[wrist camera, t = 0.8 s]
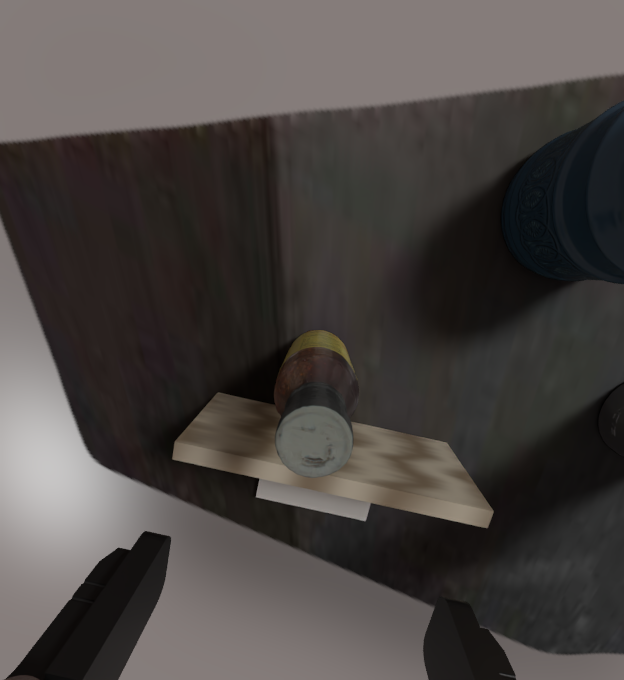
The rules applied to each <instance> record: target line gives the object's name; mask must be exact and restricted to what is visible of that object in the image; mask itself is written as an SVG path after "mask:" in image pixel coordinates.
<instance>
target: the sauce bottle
mask: <svg viewBox="0 0 624 680" xmlns="http://www.w3.org/2000/svg"><path fill="white" fill-rule="evenodd" d="M358 400H359V386H358V381H357V378H356V375H355V372H354V369H353V367H352V364H351V361H350V358H349V355H348V352H347V350H346V347H345V345H344V344H343V342H342V341H341V340H340V339H339V338H338V337H336V336H335V335H334V334H332V333H329V332H326V331H323V330H312V331H307V332H306V333H304V334H303V335H301V336H300V337H298V338H297V339H296V340H295V341H294V342H293V344H292V346H291V347H290V349H289V351H288V353H287V355H286V357H285V360H284V362H283V364H282V366H281V368H280V371H279V373H278V377H277V379H276V384H275V390H274V401H275V406H276V410H277V412H278V413H279V414H280V416H281V418H280V420H279V423H278V426H277V429H276V434H275V447H276V450H277V453H278V456H279V457H280V459H281V461H282V463H283V464H284V465H285V466H286V467H287V468H288V469H289V470H291V471H293V472H294V473H296V474H298V475H301V476H304V477H309V478H317V477H323V476H327V475H330V474H332V473H334V472H336V471H338V470H339V469H340V468H341V467H342V466H344V465H345V464H346V463H347V461H348V460H349V458H350V456H351V453H352V450H353V440H354V438H353V429H352V423H351V421H350V419H349V418H350V417H351V416H352V415H353V413H354V411H355V409H356V407H357V404H358Z"/></svg>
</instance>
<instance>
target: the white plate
mask: <svg viewBox="0 0 624 680" xmlns="http://www.w3.org/2000/svg"><path fill="white" fill-rule="evenodd" d="M256 497H257V498H262V499H267V500H271V501H276V502H280V503H285V504H289V505H294V506H299V507H303V508H308V509H312V510H317V511H321V512H326V513H331V514H335V515H340V516H344V517H349V518H353V519H358V520H363V521H366V518H367V515H368V511H369V508H370V504H371V503H369V502H365V501H360V500H356V499H351V498H346V497H342V496H337V495H333V494H328V493H324V492H319V491H315V490H310V489H305V488H301V487H296V486H292V485H287V484H283V483H278V482H273V481H269V480H264V479H259V484H258V489H257V493H256Z"/></svg>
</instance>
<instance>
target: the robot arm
mask: <svg viewBox="0 0 624 680" xmlns="http://www.w3.org/2000/svg"><path fill="white" fill-rule="evenodd" d="M598 426H599V432H600V434H601V437H602V439H603V441H604V442H605V443H606V444H607V446H608V447H610V448H611V449H612V450H614V451H615V452H617V453H618V454H620V455H621V456H623V457H624V384H622V385H621V386H619V387H618V388H617V389H616V390H614V391H613V392H612V393H611V394H610V396H609V397H608V398H607V399H606V401H605V402H604V404H603V406H602V408H601V411H600V414H599V422H598ZM170 544H171V537H170V536H166V535H161V534H157V533H152V532H147V531H145V532H143V533H142V535H141V536H140V538H139V539H138V540H137V542H136V543H135V544H134V546H133V547H132V549H131V550H127V549H122V548H117V549H116V550H115V551H113V552H112V553H111V554H109V555H108V556H106V557H105V558H104V559H102V560H101V561H99V563H98V564H97V565H96V566H95V568H94V569H93V571H92V572H91V573H90V574H89V575H88V577H87V578H86V579H85V582H84V583H83V584H81V586H80V587H79V588H78V590H77V591H76V592H75V593H74V595H73V597H72V599H71V600H69V601H68V603H67V604H66V605H65V606H64V608H63V609H62V610H61V612H60V613H59V614H58V615H57V617H56V618H55V619H54V621H53V622H52V623H51V624H50V626H49V627H48V628H47V630H46V631H45V632H44V633H43V635H42V636H41V637H40V639H39V640H38V641H37V642H36V644H35V645H34V646H33V648H32V649H31V650H30V651H29V653H28V654H27V655H26V657H25V658H24V659H23V661H22V662H21V663H20V664H19V665H18V667H17V668H16V669H15V670H14V671H13V672H12V673H11V674H10V675H9V676H8V677H7V678H6V679H5V680H118V679H119V677H120V675H121V673H122V671H123V669H124V667H125V665H126V663H127V661H128V659H129V657H130V655H131V653H132V651H133V649H134V647H135V645H136V643H137V641H138V639H139V637H140V635H141V634H142V632H143V630H144V627H145V626H146V624H147V622H148V620H149V618H150V616H151V614H152V612H153V610H154V608H155V606H156V604H157V602H158V600H159V597H160V594H161V592H162V589H163V585H164V582H165V577H166V570H167V564H168V557H169V550H170ZM423 652H424V662H425V666H426V671H427V675H428V679H429V680H516V678H515V673H514V671H513V669H512V667H511V665H510V663H509V660H508V658H507V656H506V654H505V652H504V650H503V649H502V647H501V646H500V645H499V643H498V642H497V641H496V640H495V638H494V637H493V636H492V634H491V633H490V632H489V630H488V629H484V628H480V626H479V624H478V621H477V619H476V617H475V614H474V612H473V610H472V608H471V606H470V605H469V603H467V602H464V601H459V600H455V599H450V598H445V597H440V598H439V599H438V601H437V603H436V606H435V609H434V611H433V614H432V617H431V620H430V623H429V625H428V628H427V631H426V634H425V638H424V646H423Z"/></svg>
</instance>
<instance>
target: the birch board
mask: <svg viewBox="0 0 624 680" xmlns="http://www.w3.org/2000/svg"><path fill="white" fill-rule="evenodd" d="M280 418H281V416H280V414H279V413H278V412H277V410H276V406H275V405H273V404H269V403H264V402H259V401H255V400H250V399H246V398H241V397H237V396H232V395H228V394H223V393H219V392H218V393H217V394H216V395H215V396H214V397H213V398H212V400H211V401H210V402H209V403H208V404H207V405H206V406H205V408H204V409H203V410H202V411H201V412H200V413H199V415H198V416H197V417H196V418H195V419H194V420H193V421H192V423H191V424H190V425H189V426H188V427H187V428H186V429H185V431H184V432H183V433H182V434H181V435H180V436H179V437H178V439H177V440H176V441H175V444H174V451H173V458H172V459H173V460H178V461H182V462H187V463H191V464H196V465H200V466H205V467H210V468H214V469H219V470H223V471H228V472H232V473H237V474H241V475H246V476H251V477H255V478H260V479H264V480H269V481H273V482H278V483H283V484H287V485H292V486H296V487H301V488H305V489H310V490H315V491H319V492H324V493H328V494H333V495H337V496H342V497H346V498H351V499H356V500H360V501H365V502H369V503H374V504H378V505H383V506H388V507H392V508H397V509H401V510H406V511H410V512H415V513H420V514H424V515H429V516H433V517H438V518H442V519H447V520H451V521H456V522H461V523H465V524H470V525H474V526H479V527H483V528H488V526H489V523H490V521H491V518H492V515H493V513H494V511H493V509H492V508H491V507H490V505H489V504H488V502H487V501H486V499H485V498H484V496H483V495H482V493H481V492H480V490H479V489H478V488H477V486H476V485H475V483H474V482H473V480H472V479H471V477H470V476H469V474H468V473H467V472H466V470H465V469H464V467H463V466H462V464H461V463H460V461H459V460H458V458H457V457H456V455H455V454H454V453H453V451H452V450H451V448H450V447H449V445H448V444H447V443H446V442H442V441H437V440H432V439H428V438H423V437H419V436H414V435H410V434H405V433H401V432H396V431H391V430H387V429H382V428H378V427H373V426H369V425H364V424H360V423H355V422H351V423H352V429H353V438H354V440H353V450H352V453H351V456H350V458H349V460H348V461H347V463H346V464H345V465H344V466H342V467H341V468H340V469H339V470H338V471H336V472H334V473H332V474H330V475H327V476H323V477H317V478H309V477H304V476H301V475H298V474H296V473H294V472H293V471H291V470H289V469H288V468H287V467H286V466H285V465H284V464H283V463H282V461H281V459H280V457H279V456H278V453H277V450H276V447H275V434H276V429H277V426H278V423H279V420H280Z"/></svg>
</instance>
